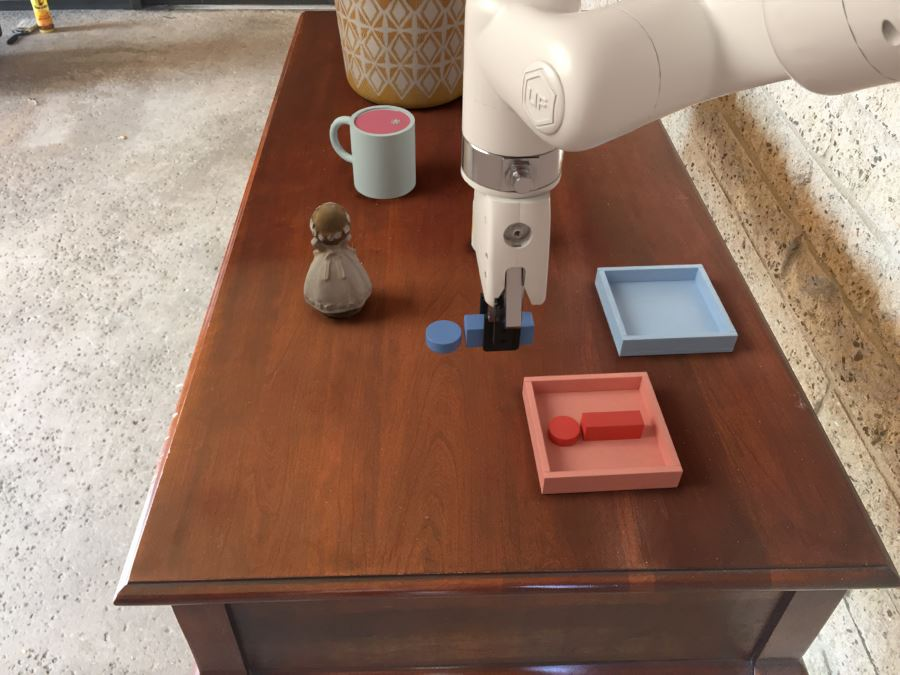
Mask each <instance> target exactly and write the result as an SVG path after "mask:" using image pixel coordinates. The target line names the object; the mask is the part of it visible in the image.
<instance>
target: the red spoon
mask: <svg viewBox="0 0 900 675" xmlns="http://www.w3.org/2000/svg"><path fill="white" fill-rule="evenodd" d="M644 425H645V424H644V421H643V418H642V415H641V413H640V410H634V411H611V412H589V413H582V418H581V423H580V426H579V424H578V422H577V421H576V420H575V419H573V418H571V417H569V416H557V417H554V418H553V419H552V420H551V421H550V422H549V426H548V437H549V439H550V440H551V442H553V443H554V444H556V445H558V446H562V447H568V446H572V445H574V444H575V443H576V442H577V441H578V438H579V433H580V430H581V434H582V438H583V441H598V440H619V439H640V438H641V436H642V432H643V429H644Z"/></svg>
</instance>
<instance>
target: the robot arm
mask: <svg viewBox="0 0 900 675" xmlns="http://www.w3.org/2000/svg"><path fill="white" fill-rule="evenodd" d="M790 80H793V82H794V83H796V84H797V85H798V86H800V87H802V88H803V89H805V90H806V91H808V92H810V93H812V94H815V95H820V96H826V97H836V96H837V97H838V96H843V95H847V94H848V95H849V94H854V93H858V92H862V91H867V90H871V89H874V88H875V89H876V88H879V87H883V86H888V85H892V84H893V85H894V84H897V83H900V0H619V1H617V2H616V1H615V2H613V3H610V4H605V5H604V6H599V7H596V8H592V9H587V10H582V0H466V6H465V33H464V71H463V94H462V110H461V111H462V112H461V113H462V114H461V115H462V116H461V155H460V175H461V177H462V179H463V180H464V182H465V183H467V185H468V186H470V187H471V188H472V189H474V191H473V200H474V242H475V250H474V251H475V256H476V262H477V266H478V273H479V279H480V282H481V283H480V284H481V290H482V292H480V293H479V294H480V295H479V310H478V314H484V325H483V343H482V345H483V347H482V350H483V352H486V353H489V352H490V353H491V352H510V351H517V350H518V349H519V348H520V345H519V343H520V333H521V323H522V312H523V309H524V299H525V292H526V294H527V297H528V299H529V302H530V304H531V305H532V306H541V305H543V304H544V303H545V301H546V298H547V287H548V276H549V275H548V273H549V259H550V245H551V244H550V243H551V218H552V216H551V214H552V212H551V191H552V190H553V189H555V187H557V186H558V184H559V183H560V181H561V178H562V171H563V162H564V155H565V152H571V153H572V152H574V153H575V152H583V151H588V150H591V149H595V148H597V147H599V146H601V145H604V144H606V143H608V142H611V141H613V140H616V139H618V138H620V137H622V136H626V135H627V134H630V133H631V132H634V131H635V130H638V129H639V128H641V127H644V126H646V125H649V124H651V123H653V122H656V121H658V120H660V119H661V120H662V119H663V118H665V117H668V116H671V115H673V114H675V113H678V112H680V111H683V110H686V109H688V108H690V107H693V106H695V105H698V104H701V103H704V102H707V101H710V100H714V99H717V98H721V97H725V96H728V95H732V94H736V93H739V92H743V91H744V92H745V91H747V90H751V89H755V88H759V87H763V86H767V85H771V84H776V83H779V82H785V81H790Z"/></svg>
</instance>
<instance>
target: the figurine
mask: <svg viewBox="0 0 900 675" xmlns="http://www.w3.org/2000/svg"><path fill="white" fill-rule="evenodd" d="M309 228H310V231H311V234H312V235H313V238H312V239H311V240H310V244H311V246H312V247H313V248H316V249H314V250H313V252H312V255H313V260H312V262H311V263H310V265H309V268H308V271H307V273H306V277H305V279H304V280H305V281H304V284H303V297H304V301H305V302H306V304H308V305H310V306H311V307H312V308H314V309H315V310H317V311H319V312H320V313H321V314H322V315H323V316H324V317H325V316H326V317H327V318H331V319H343V320H344V319H349V318H351V317H355V316H356V315H357V314H359V313H360V312H361V311H362V308H363V307H364V306H365V303H366V301H367V300H368V298H369V297H370V296H371V294H372V290H373V284H372V282H371V279H370V277H369V274H368V273H367V271H366V269H365V267H364V266H363V265H362V263H361V261H360V260H359V258H358V256H357V249H356V248H353V247H350V246H349V245H348V244H349V242H350V241H351V239H352V235H351V233H350V232H351V230H352V224H351V217H350V214H349V213H348V211H347V210H346V209H345V207H344V206H342V205H340V204H338V203H336V202H332V201H329V202H325V203H322V204H321V205H319V206H317V207H316V208H315V210H314V212H313V213H312V215H311V216H310V220H309Z"/></svg>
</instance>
